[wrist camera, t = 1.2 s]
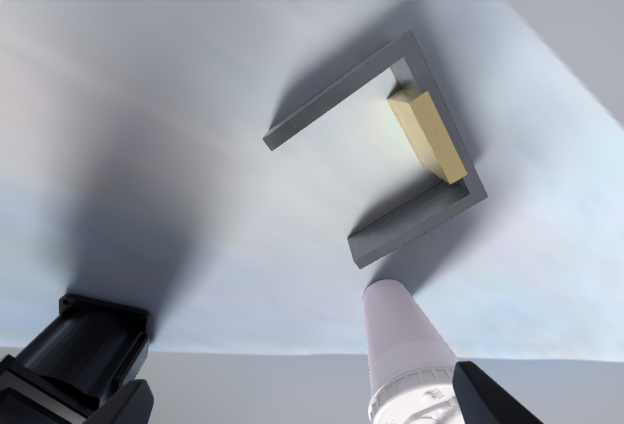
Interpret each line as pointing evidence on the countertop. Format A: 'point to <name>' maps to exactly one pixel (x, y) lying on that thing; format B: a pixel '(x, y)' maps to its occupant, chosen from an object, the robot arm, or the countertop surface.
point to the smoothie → (406, 360)
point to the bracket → (422, 136)
